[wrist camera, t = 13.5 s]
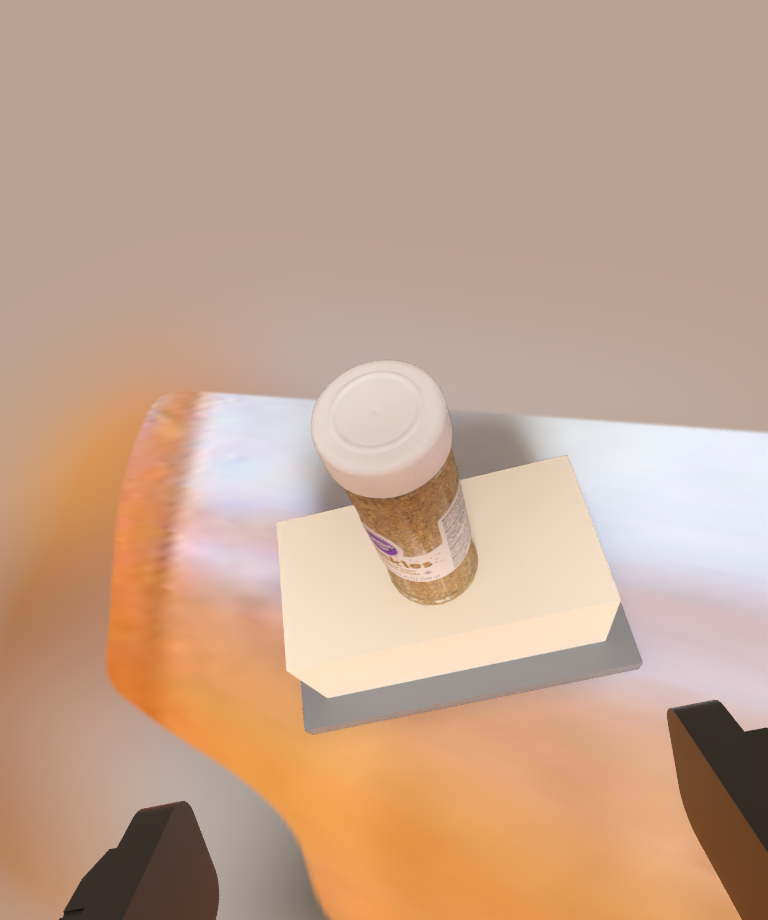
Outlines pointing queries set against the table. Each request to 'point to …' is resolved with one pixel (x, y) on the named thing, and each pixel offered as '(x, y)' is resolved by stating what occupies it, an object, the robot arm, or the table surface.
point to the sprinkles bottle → (400, 474)
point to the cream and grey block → (453, 607)
